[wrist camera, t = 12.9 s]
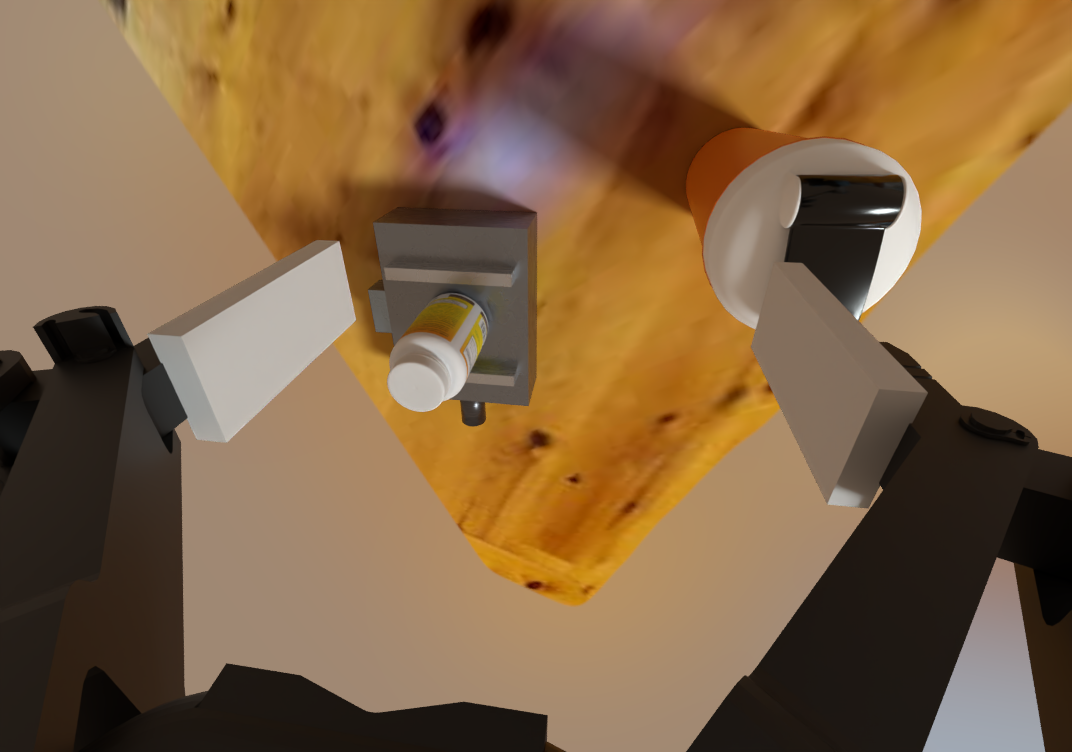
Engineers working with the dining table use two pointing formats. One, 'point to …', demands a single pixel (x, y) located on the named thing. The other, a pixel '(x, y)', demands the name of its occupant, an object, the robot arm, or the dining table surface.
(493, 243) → the motor block
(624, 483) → the dining table surface
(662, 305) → the dining table surface
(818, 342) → the robot arm
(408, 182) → the dining table surface
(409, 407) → the supplement bottle
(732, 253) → the shaker bottle
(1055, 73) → the dining table surface
